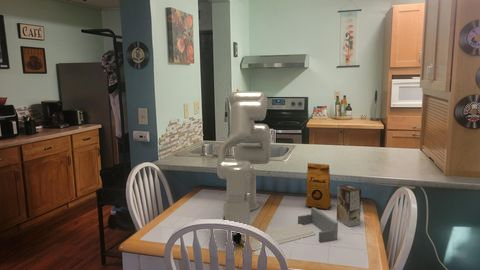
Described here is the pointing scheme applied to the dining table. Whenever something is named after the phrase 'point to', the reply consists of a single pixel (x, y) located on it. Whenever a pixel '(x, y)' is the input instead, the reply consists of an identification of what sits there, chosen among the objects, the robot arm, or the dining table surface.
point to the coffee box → (348, 205)
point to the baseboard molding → (283, 235)
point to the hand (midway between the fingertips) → (237, 242)
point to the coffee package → (318, 186)
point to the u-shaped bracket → (321, 224)
